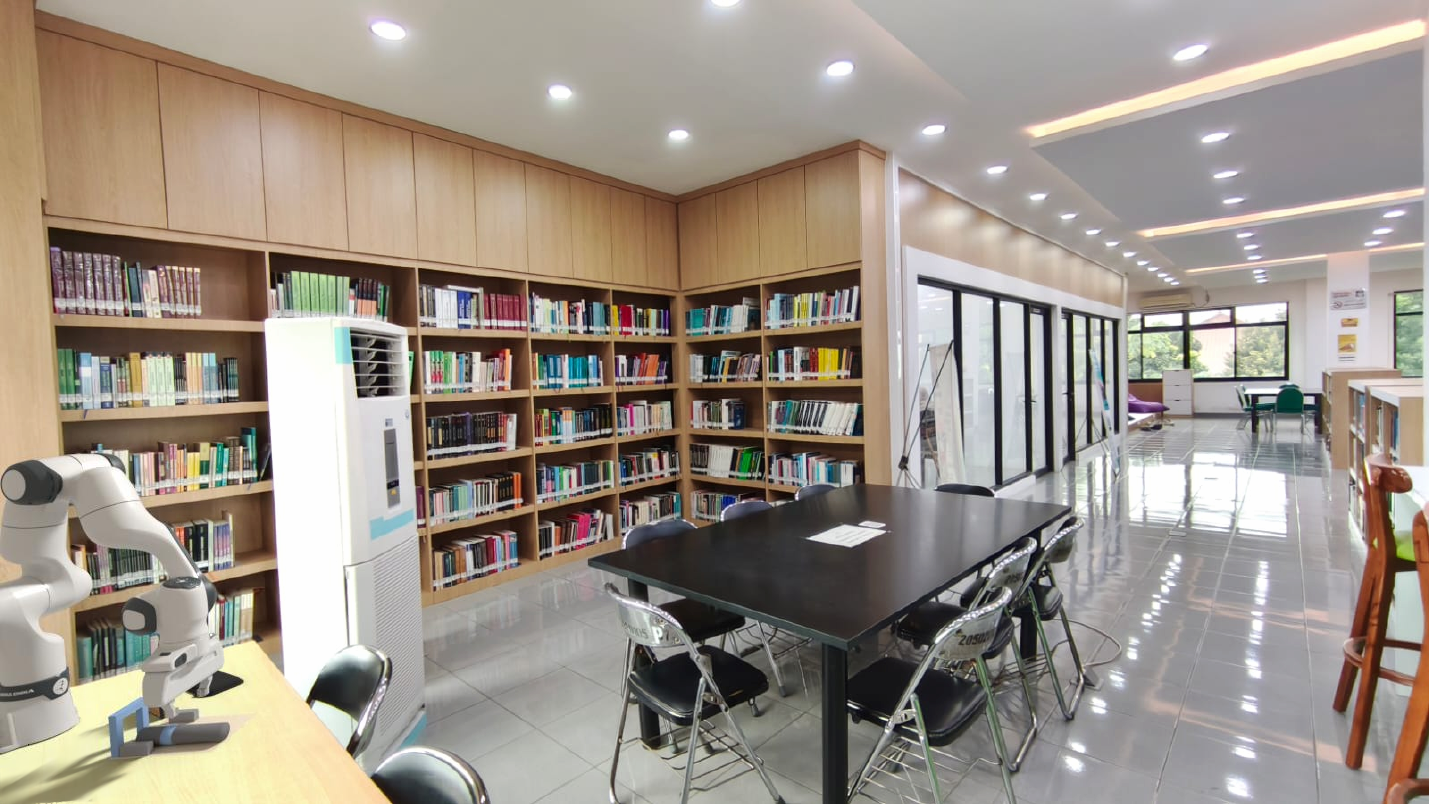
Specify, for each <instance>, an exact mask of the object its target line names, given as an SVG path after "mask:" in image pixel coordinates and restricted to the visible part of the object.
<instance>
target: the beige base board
mask: <svg viewBox="0 0 1429 804" xmlns="http://www.w3.org/2000/svg"><path fill="white" fill-rule="evenodd" d="M178 712H179V714H178V715H177V716H175V717H174V718H171V719H167V718H166V719H164V721H163V722H161V723H160V724H156V725H155V724H154V725H149V727H157V726H170V725H189V724H205V723H221V722H228V723H229V725H230V731H229V734H228V736H227V738H226V739H225V740H224V741H218V742H203V743H188V744H175V745H157V746H153V741H142V742H135V741H131V742H129V741H128V742H124V744H122V745H121V746H119V753H120V757H119V758H111V757H110V758H109V759H108V760H119V759H121V760H122V759H135V758H137V759H138V758H150V757H163V756H164V757H165V756H177V755H178V756H179V755H190V754H191V755H194V754H207V753H213V752H214V751H215V750H217V748H219V747H220V746H221V745H222V744H224V743H225V742H226V741H227V740H228V739H230V738H231V737H232V736H233V735H234V734H236V733H237V732H238V731H240V730H241V729H242V728H243V727H244V726H246V724H247V723H249V722H250V721H251V720H252V719H254V718H255V717H256V716H258V715H259V712H258V713H257V712H255V713H245V714H244V713H243V714H229V715H212V716H200V713H199V712H200V710H199V708H189V709H188V708H187V709H186V708H185V709H179V711H178Z"/></svg>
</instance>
